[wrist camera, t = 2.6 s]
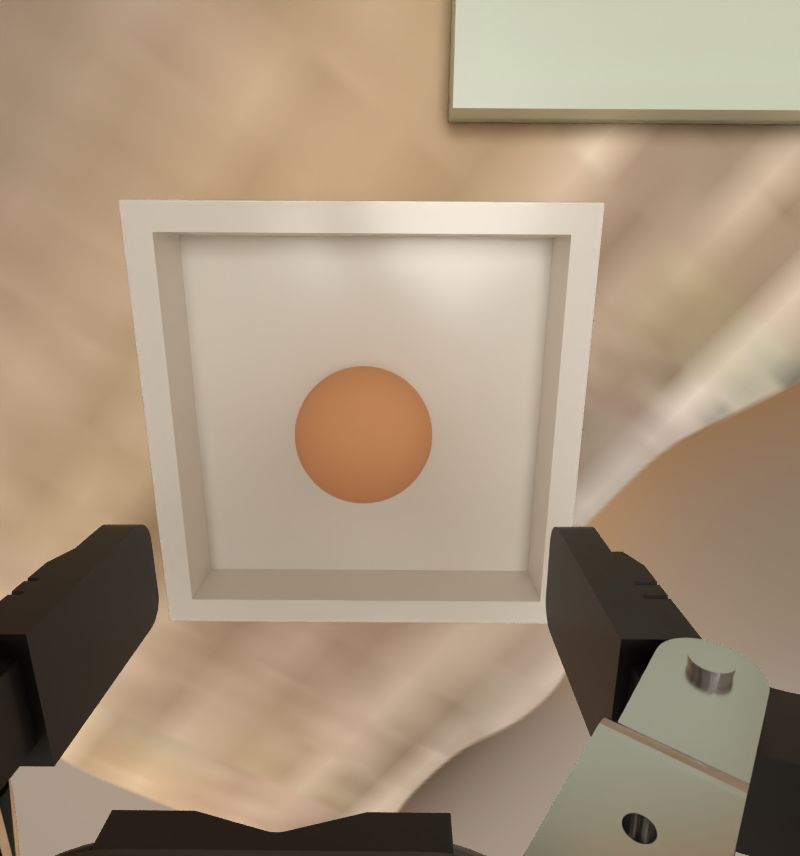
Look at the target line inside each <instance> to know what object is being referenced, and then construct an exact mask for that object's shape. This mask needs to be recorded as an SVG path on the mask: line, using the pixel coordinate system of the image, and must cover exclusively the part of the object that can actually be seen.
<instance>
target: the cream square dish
mask: <svg viewBox="0 0 800 856" xmlns="http://www.w3.org/2000/svg"><path fill="white" fill-rule="evenodd" d="M119 208H120V217H121V225H122V233H123V241H124V249H125V257H126V266H127V274H128V282H129V290H130V298H131V307H132V315H133V323H134V331H135V339H136V348H137V356H138V364H139V372H140V380H141V389H142V397H143V405H144V413H145V421H146V429H147V438H148V446H149V454H150V462H151V470H152V479H153V487H154V495H155V503H156V511H157V520H158V528H159V536H160V544H161V552H162V561H163V569H164V577H165V585H166V593H167V601H168V610H169V618H170V621H261V622H420V623H547V616H546V587H547V574H548V561H549V548H550V537H551V532H552V529H553V528H554V527H572V526H573V516H574V506H575V496H576V486H577V476H578V466H579V456H580V446H581V435H582V425H583V415H584V405H585V395H586V385H587V375H588V365H589V355H590V345H591V334H592V324H593V314H594V304H595V294H596V284H597V274H598V264H599V254H600V243H601V233H602V223H603V213H604V203H562V202H410V201H258V200H119ZM358 366H368V367H376V368H381V369H384V370H387V371H390V372H392V373H394V374H396V375H398V376H400V377H401V378H403V379H404V380H406V381H407V382H408V383H409V384H410V385H411V386H412V387H413V388H414V389H415V390H416V391H417V392H418V394H419V395H420V397H421V398H422V400H423V401H424V403H425V405H426V408H427V410H428V413H429V416H430V419H431V424H432V445H431V450H430V454H429V457H428V460H427V462H426V464H425V466H424V468H423V470H422V472H421V473H420V475H419V476H418V477H417V479H416V480H415V481H414V482H413V483H412V484H411V485H410V486H409V487H407V488H406V489H405V490H404V491H402V492H401V493H399V494H397V495H396V496H394V497H391V498H389V499H387V500H383V501H380V502H375V503H364V504H363V503H352V502H347V501H344V500H341V499H338V498H336V497H333V496H331V495H330V494H328V493H326V492H325V491H323V490H322V489H321V488H319V487H318V486H317V485H316V484H315V483H314V482H313V481H312V480H311V478H310V477H309V476H308V474H307V473H306V472H305V470H304V468H303V466H302V465H301V462H300V460H299V457H298V454H297V450H296V444H295V425H296V419H297V416H298V413H299V410H300V408H301V406H302V403H303V401H304V400H305V398H306V397H307V395H308V394H309V392H310V391H311V390H312V389H313V388H314V387H315V386H316V385H317V384H318V383H319V382H320V381H322V380H323V379H324V378H326V377H327V376H329V375H331V374H333V373H335V372H337V371H340V370H343V369H346V368H351V367H358Z"/></svg>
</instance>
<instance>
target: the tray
mask: <svg viewBox="0 0 800 856" xmlns="http://www.w3.org/2000/svg"><path fill="white" fill-rule="evenodd" d="M448 122H480V123H630V124H781V125H800V0H451V33H450V70H449V108H448Z"/></svg>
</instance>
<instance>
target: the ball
mask: <svg viewBox="0 0 800 856" xmlns="http://www.w3.org/2000/svg"><path fill="white" fill-rule="evenodd" d="M295 444H296V450H297V454H298V457H299V460H300V462H301V465H302V466H303V468H304V470H305V472H306V473H307V474H308V476H309V477H310V478H311V480H312V481H313V482H314V483H315V484H316V485H317V486H318V487H319V488H321V489H322V490H323V491H325V492H326V493H328V494H330V495H331V496H333V497H336V498H338V499H341V500H344V501H347V502H352V503H363V504H364V503H375V502H380V501H383V500H387V499H389V498H391V497H394V496H396V495H397V494H399V493H401V492H402V491H404V490H405V489H406V488H407V487H409V486H410V485H411V484H412V483H413V482H414V481H415V480H416V479H417V477H418V476H419V475H420V473H421V472H422V470H423V468H424V466H425V464H426V462H427V460H428V457H429V454H430V450H431V445H432V424H431V419H430V416H429V413H428V410H427V408H426V405H425V403H424V401H423V400H422V398H421V397H420V395H419V394H418V392H417V391H416V390H415V389H414V388H413V387H412V386H411V385H410V384H409V383H408V382H407V381H406V380H404V379H403V378H401V377H400V376H398V375H396V374H394V373H392V372H390V371H387V370H384V369H381V368H376V367H368V366H358V367H351V368H346V369H343V370H340V371H337V372H335V373H333V374H331V375H329V376H327V377H326V378H324V379H323V380H322V381H320V382H319V383H318V384H317V385H316V386H315V387H314V388H313V389H312V390H311V391H310V392H309V394H308V395H307V397H306V398H305V400H304V401H303V403H302V406H301V408H300V410H299V413H298V416H297V419H296V425H295Z"/></svg>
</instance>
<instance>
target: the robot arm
mask: <svg viewBox="0 0 800 856" xmlns="http://www.w3.org/2000/svg"><path fill="white" fill-rule="evenodd" d="M158 602H159V596H158V588H157V580H156V573H155V565H154V558H153V551H152V543H151V537H150V533H149V531H148V529H147V527H146V526H145V525H102V526H101V527H100V528H98V529H97V530H96V531H95V532H94V533H93V534H91V535H90V536H89V537H88V538H87V539H86V540H84V541H83V542H82V543H81V544H80V545H79V546H77V547H76V548H75V549H73V550H71V551H69V552H67V553H65V554H63V555H61V556H59V557H57V558H55V559H53V560H51V561H49V562H47V563H46V564H44V565H43V566H42V567H41V568H40V569H38V570H37V571H36V572H35V573H34V574H32V575H31V576H30V577H29V578H28V581H24V582H23V583H21V584H20V585H19V586H18V587H17V588H15V589H14V590H13V591H12V594H11V595H7V596H6V597H5V598H3V599H2V600H1V601H0V856H20V849H19V839H18V829H17V820H16V810H15V800H14V793H13V789H12V785H11V780H10V778H11V777H12V775H13V774H14V773H15V771H16V770H17V769H18V767H19V766H55V765H56V763H57V762H58V760H59V759H60V757H61V756H62V755H63V753H64V752H65V750H66V749H67V747H68V746H69V745H70V743H71V742H72V740H73V739H74V738H75V736H76V735H77V733H78V732H79V730H80V729H81V728H82V726H83V725H84V723H85V722H86V720H87V719H88V718H89V716H90V715H91V713H92V712H93V710H94V709H95V708H96V706H97V705H98V703H99V702H100V700H101V699H102V698H103V696H104V695H105V693H106V692H107V691H108V689H109V688H110V686H111V685H112V683H113V682H114V681H115V679H116V678H117V676H118V675H119V673H120V672H121V671H122V669H123V668H124V666H125V665H126V663H127V662H128V661H129V659H130V658H131V656H132V655H133V653H134V652H135V651H136V649H137V648H138V646H139V645H140V644H141V642H142V641H143V639H144V638H145V636H146V635H147V634H148V632H149V631H150V629H151V628H152V626H153V624H154V622H155V619H156V615H157V611H158ZM546 616H547V623H548V627H549V630H550V633H551V636H552V638H553V641H554V644H555V646H556V649H557V651H558V654H559V656H560V659H561V662H562V664H563V667H564V669H565V672H566V674H567V677H568V679H569V682H570V684H571V687H572V690H573V692H574V695H575V697H576V700H577V703H578V705H579V708H580V710H581V713H582V715H583V718H584V720H585V723H586V726H587V728H588V731H589V734H590V736H591V739H590V740H589V742H588V744H587V745H586V747H585V749H584V750H583V752H582V754H581V756H580V757H579V759H578V761H577V763H576V764H575V766H574V768H573V770H572V771H571V773H570V775H569V777H568V779H567V780H566V782H565V784H564V785H563V787H562V789H561V791H560V792H559V794H558V796H557V798H556V799H555V801H554V803H553V805H552V806H551V808H550V810H549V812H548V814H547V815H546V817H545V819H544V820H543V822H542V824H541V826H540V827H539V829H538V831H537V833H536V834H535V836H534V838H533V840H532V841H531V843H530V845H529V847H528V849H527V850H526V852H525V854H524V855H523V856H735V852H739V853H742V854H745V855H749V856H800V695H799V694H794V693H790V692H785V691H781V690H777V689H774V688H771V687H770V686H769V683H768V680H767V678H766V676H765V674H764V673H763V672H762V671H761V670H760V668H759V667H758V666H757V665H755V664H754V663H753V662H752V661H751V660H749V659H748V658H747V657H745V656H743V655H742V654H740V653H739V652H737V651H735V650H733V649H731V648H728V647H726V646H723V645H721V644H718V643H715V642H711V641H708V640H703V639H702V638H701V637H700V636H699V635H698V633H697V632H696V631H695V630H694V628H693V627H692V626H691V624H690V623H689V622H688V621H687V619H686V618H685V617H684V616H683V614H682V613H681V612H680V610H679V609H678V608H677V607H676V605H675V604H674V603H673V602H672V600H671V599H668V595H667V594H666V593H665V591H664V590H663V589H662V588H661V587H660V585H657V581H656V580H655V579H654V577H653V576H652V575H651V574H650V572H649V571H648V570H647V569H646V567H645V566H644V565H642V564H641V563H639V562H638V561H636V560H634V559H633V558H631V557H630V556H628V555H627V554H625V553H623V552H611V551H610V549H609V548H608V546H607V545H606V544H605V542H604V541H603V539H602V538H601V537H600V535H599V534H598V532H597V531H596V530H595V528H593V527H554V528H553V529H552V532H551V537H550V548H549V561H548V574H547V587H546ZM56 856H485V855H483V854H480V853H478V852H476V851H473V850H471V849H468V848H464V847H462V846H458V845H455V844H453V840H452V828H451V815H450V813H383V812H366V813H362V814H358V815H353V816H349V817H345V818H341V819H336V820H332V821H328V822H324V823H319V824H315V825H311V826H307V827H302V828H298V829H294V830H290V831H285V832H268V831H264V830H261V829H257V828H254V827H250V826H246V825H243V824H239V823H236V822H232V821H229V820H225V819H222V818H218V817H215V816H211V815H208V814H204V813H201V812H197V811H157V810H155V811H154V810H153V811H151V810H112V812H111V814H110V815H109V817H108V819H107V821H106V823H105V825H104V826H103V828H102V830H101V832H100V834H99V836H98V838H97V839H96V841H95V843H91V844H87V845H83V846H80V847H78V848H74V849H71V850H69V851H66V852H63V853H60V854H58V855H56Z"/></svg>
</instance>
